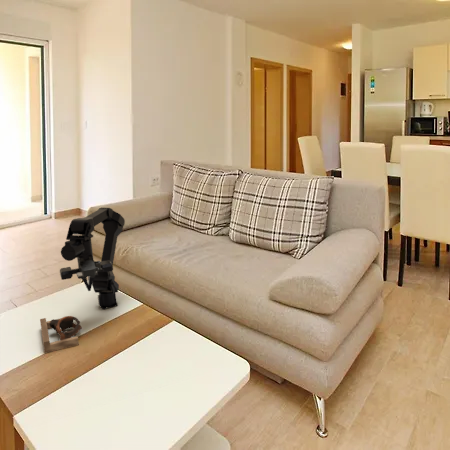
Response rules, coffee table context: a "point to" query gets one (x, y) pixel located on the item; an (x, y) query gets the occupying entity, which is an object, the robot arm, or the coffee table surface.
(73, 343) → the walnut guide channel
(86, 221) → the robot arm
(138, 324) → the coffee table surface
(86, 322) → the coffee table surface
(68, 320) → the pottery mug
